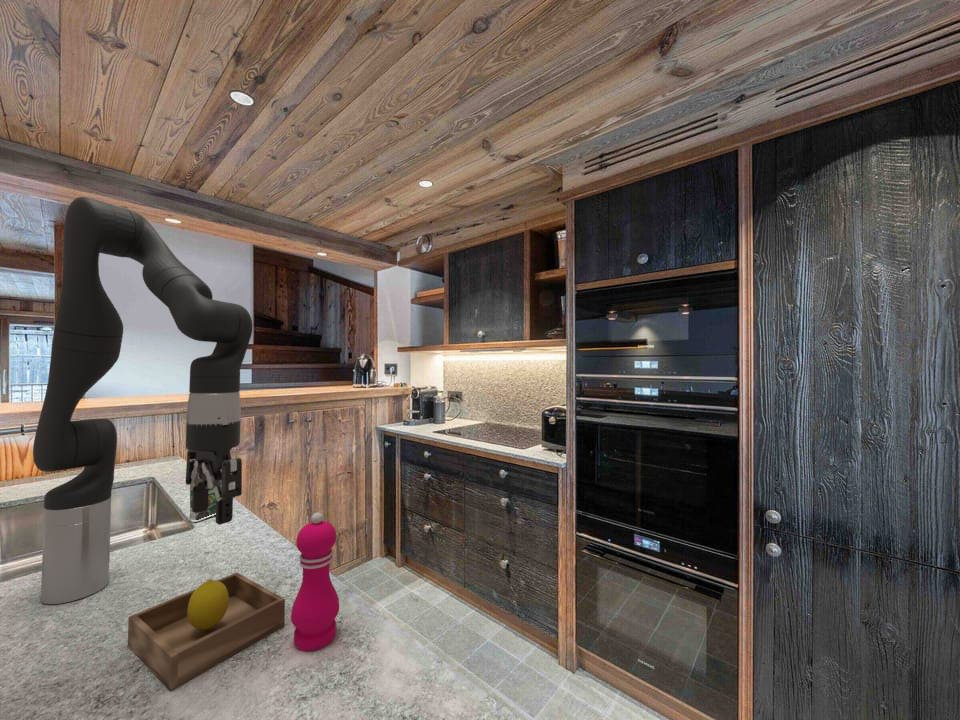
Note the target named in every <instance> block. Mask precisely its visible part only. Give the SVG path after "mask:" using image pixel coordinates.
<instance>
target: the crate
mask: <svg viewBox="0 0 960 720" xmlns="http://www.w3.org/2000/svg"><path fill="white" fill-rule="evenodd" d="M216 581H220V582H222V583H223V584H224V585H225V586H226V588H227V591H228V596H229V603H228V607H227V611H226V613H225V615H224V617H223V618H222V619H221V620H220V621H219V622H218V623H217V624H216V625H214V626H213V627H211V628H210V629H209V630H207V631H206V630H204V629H196V628H194V627H193V626H192V625H191V624H190V622H189V620H188V616H187V610H188V604H189V600H190V598H191V595H192V594H193V592H194V591H195V590H196V589H197V588H195V589H193V590H190V591H188V592H185V593H183V594H180V595H178V596H176V597H173V598H171V599H168V600H166V601H163V602H161V603H159V604H156V605H154V606H151V607H149V608H146V609H144V610H142V611H140V612H136V613H134V614H131V615H130V616H128V618H127V619H128V621H127V622H128V626H127V647H128V648H129V649H130V650H131V651H132V652H133V654H135V655H136V656H137V657H138V658H139V660H141V662H142V663H143V664H144V665H145V666H146V667H147V668H148V669H149V670H150V671H151V672H152V674H154V676H155V677H156V678H157V679H158V680H159V681H160V682H161V684H163V685H164V686H165V688H167V689H168V690H169V692H172V691H173V690H175V689H177V688H179V687H180V686H182V685H184V684H186V683H188V682H189V681H191V680H193V679H194V678H197V677H198V676H199V675H202V674H203V673H205V672H206V671H209V670H210V669H212V668H213V667H215V666H217V665H218V664H220V663H222V662H224V661H227V659H230V658H231V657H233V656H235V655H236V654H238V653H240V652H241V651H244V650H245V649H247V648H249V647H250V646H253V644H255V643H257V642H259V641H260V640H262V639H264V638H266V637H267V636H269V635H271V634H273V633H275V632H277V631H278V630H280V629H282V628H283V627H285V623H286V622H285V621H286V620H285V615H286V608H285V607H286V598H285V597H282V596H281V595H279V594H277V593H275V592H273V591H272V590H271V589H268V588H266V587H264V586H262V585H260V584H259V583H257V582H255V581H254V580H251V579H250V578H248V577H246V576H245V575H242V574H240V573H239V572H235V573H231V574H230V575H226V576H225V577H222V578H220V579H217V580H216ZM185 682H186V683H185Z"/></svg>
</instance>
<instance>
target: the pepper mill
mask: <svg viewBox="0 0 960 720" xmlns="http://www.w3.org/2000/svg"><path fill="white" fill-rule="evenodd" d="M323 517H324V516H323V514H322V513H321V512H314V513H313V514H312V515H311V516H310V520H311V521H310V522H308V523H307V524H305V525H304V526H303V527H302V528H301V529H300V530H299V532H298V533H297V537H296V542H295V543H296V549H297V550H298V552H299V553H300V555H299V562H298V563H299V566H300V567H302V580H301V584H300V587H299V590H298V592H297V594H296V596H295V598H294V601H293V605H292V606H291V613H290V614H291V615H290V621H291V624H292V625H293V626H294V627H295V629H294V632H293V635H294V636H293V645H294V646H295V648H296V649H297V650H300V651H303V652H309V651H312V652H313V651H316V650H319V649H322V648H324V647H326V646H328V645H329V644H330V643H332V641H333V640H334V638H335V637H336V633H337V622H336V618H337V616H338V614H339V611H340V599H339V595H338V592H337V590H336V588H335V586H334V584H333V583H332V580H331V577H330V567H331V562H332V561H333V559H334V557H333V553H334V551H333V549H332V548H333V547H334V546H335V543H336V541H337V531H336V528H335V527H334V525H333V524H332V523H330V522H329V521H327V520H323V519H324V518H323Z"/></svg>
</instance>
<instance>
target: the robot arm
mask: <svg viewBox="0 0 960 720" xmlns="http://www.w3.org/2000/svg"><path fill="white" fill-rule="evenodd" d="M63 223H64V225H63V240H62V242H63V245H62V247H63V248H62V275H61V276H62V277H61V278H62V279H61V288H60V295H59V301H58V307H57V313H56V316H55V318H56V319H55V322H54V328H53V334H52V342H51V353H50V362H49V369H48V379H47V386H46V390H45V391H46V392H45V395H44V400H43V404H42V407H41V411H40V415H39V419H38V423H37V425H36V429H35V430H36V431H35V434H34V435H35V436H34V440H33V447H32V456H33V457H32V458H33V459H32V460H33V463H34V465H35V467H36V468H37V469H38V470H39V471H41V472H43V473H45V472H46V473H49V472H59V471H65V470H72V469H78V468H83V470H82V471H81V472H80V473H79V474H77V476H75V477H73V478H71V479H70V480H68V481H67V482H64V483H62V484H60V485H58V486H56V487H54V488H51V489H49V491H47V492H46V493H45V495H44V498H43V522H42V523H43V526H42V529H43V530H42V531H43V532H42V553H41V554H42V555H41V556H42V558H41V559H42V560H41V563H42V564H41V585H40V587H41V588H40V603H42V604H44V605H59V604H65V603H69V602H74V601H76V600H77V601H78V600H81V599H83V598H85V597H88V596H91V595H94V594H95V593H97V592H99V591H101V590H103V589H104V588H105V587H107V585H108V584H109V583H110V580H109V579H110V561H111V558H110V555H111V553H110V552H111V526H112V525H111V523H112V521H111V519H112V518H111V517H112V490H113V489H112V488H113V485H114V480H115V468H116V467H115V464H116V456H117V446H118V445H117V444H118V435H117V434H118V433H117V429H116V427H115V424H114V423H113V421H111V420H109V419H108V418H89V419H75V420H72V417H73V415H74V412H75V410H76V407H77V406H78V404H79V402H80V401H81V399H82V398H84V396H85V395H86V394H87V392H89V391H90V389H91V388H93V387H94V386H95V385H96V384H97V383H98V382H99V381H100V380H101V379H102V378H103V377H104V376H105V375H106V374H107V373H108V372H109V371H110V370H112V368H113V367H114V366H115V364H116V363H117V362H118V360H119V358H120V354H121V350H122V349H121V348H122V343H123V338H124V337H123V335H124V324H123V321H122V318H121V316H120V314H119V312H118V310H117V309H116V307H115V305H114V303H113V302H112V300H111V299H110V297H109V295H108V293H107V292H106V290H105V288H104V287H103V284H102V281H101V277H100V271H99V269H100V267H99V262H100V260H99V259H100V254H103V255H104V254H105V255H108V256H114V257H118V258H127V259H132V260H133V261H136V262H137V263H139V264H141V265H142V266H143V267H142V271H141V274H142V278H143V279H142V280H143V282H144V284H145V286H146V287H147V290H149V291H150V292H151V293H152V294H153V296H155V297H156V298H157V299H158V300H159V301H160V302H162V303H163V304H164V305H165V306H166V308H168V310H169V313H170V314H171V315H170V316H172V318H173V321H174V323H175V326H176V327H177V329H178V330H179V331H180V332H181V333H182V334H183V335H184V336H186V337H187V338H189V339H191V340H193V341H197V342H206V343H215V347H214V349H213V351H212V353H211V354H209V355H206V356H201V357H200V356H199V357H197V358H195V359H193V360H192V362H190V367H189V386H188V388H189V389H188V390H189V391H188V392H189V393H188V399H187V406H186V420H185V421H186V423H185V424H186V426H185V427H186V428H185V449H186V450H187V452H186V453H187V454H186V467H185V468H186V469H185V484H186V486H188V485H189V490H190V489H191V491H192V490H193V491H192V512H194V513H198V512H202V511H206V510H207V509H208V496H209V488H210V489H213V490H214V492H215V496H216V499H217V501H216V516H215V523H216V524H217V525H223V524H226V523H230V522H231V521H232V520H233V516H234V515H233V512H234V511H233V510H234V509H233V508H234V506H233V505H234V498H236V497H240V496H241V495H242V494H243V477H242V475H243V466H242V465H243V462H242V458H241V457H237V458H232V455H231V450H232V449H233V448H236V447H238V446H239V445H240V443H241V423H242V421H241V418H242V417H241V415H242V403H241V394H240V392H241V390H240V389H241V369H242V366H243V362H244V359H245V356H246V353H247V350H248V347H249V344H250V341H251V338H252V334H253V328H254V327H253V320H252V316H251V315H250V312H249V311H248V310H247V308H245V307H244V306H243V305H241V304H237V303H233V302H227V301H222V300H217V299H213V292H212V290H211V288H210V287H209V286H208V284H207V283H206V282H204V281H203V279H201V278H200V277H199V276H197V275H196V273H194V271H192V270H191V269H189V267H187V266H186V265H185V264H184V263H183V262H182V261H180V260H179V259H178V257H177V256H176V255H175V254H174V253H173V252H172V250H171V249H170V248H169V246H168V245H167V244H166V242H165V241H164V240H163V238H162V237H161V236H160V234H159V233H158V232H157V231H156V228H154V226H153V225H152V224H151V223H150V222H149V221H148V220H147V219H146V218H145V217H144V216H143V215H141V214H139V213H137V212H135V211H133V210H130V209H127V208H125V207H121V206H118V205H114V204H112V203H108V202H105V201H102V200H98V199H95V198H91V197H87V196H79V197H78V196H77V198H75V199H73V200H71V203H70V204H69V205H68V208H67V210H66V214H65V217H64V222H63ZM208 486H209V488H206V487H208ZM220 487H222V491H221V488H220Z"/></svg>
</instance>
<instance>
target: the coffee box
mask: <svg viewBox="0 0 960 720" xmlns="http://www.w3.org/2000/svg"><path fill="white" fill-rule="evenodd" d="M206 488H209V486H208V487H206ZM220 488H221V491H222V487H220ZM192 491H193V490H192ZM192 491H191V489H190V488H189V520H190V519H191V520H199V519H201V518H204V517H207V516H209V515H212V514H215V513H216V501H217V499H216V496H215V492H214V490H213V489H210V488H209V496H208V509H207V510H206V511H202V512H198V513H194V512H192Z"/></svg>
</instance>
